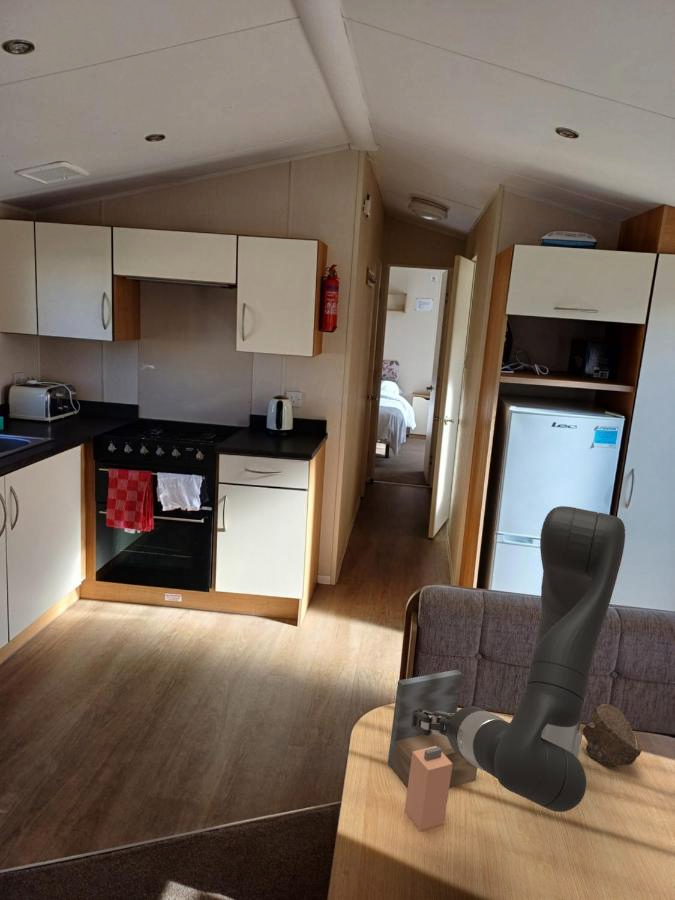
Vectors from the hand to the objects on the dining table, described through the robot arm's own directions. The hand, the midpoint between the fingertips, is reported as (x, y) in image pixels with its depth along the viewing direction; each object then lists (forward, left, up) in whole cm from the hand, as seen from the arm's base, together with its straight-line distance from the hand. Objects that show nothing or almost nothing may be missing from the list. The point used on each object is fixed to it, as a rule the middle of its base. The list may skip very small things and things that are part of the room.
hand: (443, 717), depth 109 cm
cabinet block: (+1, -2, -21) cm, 21 cm away
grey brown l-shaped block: (-2, -14, -21) cm, 26 cm away
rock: (-39, -26, -22) cm, 51 cm away
